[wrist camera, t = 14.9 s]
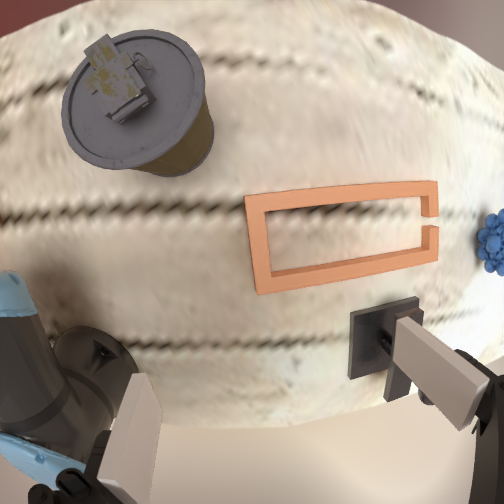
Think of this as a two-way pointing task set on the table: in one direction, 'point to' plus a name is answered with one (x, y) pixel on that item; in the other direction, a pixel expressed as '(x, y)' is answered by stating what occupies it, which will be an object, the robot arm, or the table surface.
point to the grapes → (492, 243)
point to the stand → (382, 345)
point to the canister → (139, 105)
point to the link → (341, 269)
